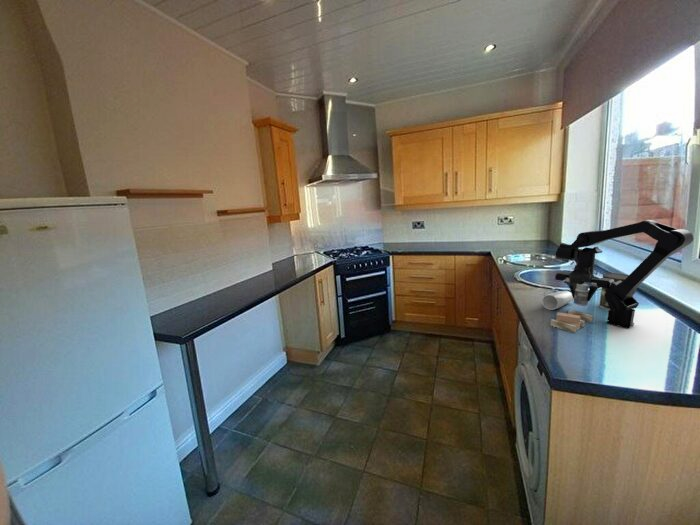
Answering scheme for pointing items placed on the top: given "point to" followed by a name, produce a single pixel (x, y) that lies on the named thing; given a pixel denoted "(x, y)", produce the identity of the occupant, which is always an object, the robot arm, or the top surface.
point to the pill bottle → (581, 294)
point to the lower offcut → (576, 325)
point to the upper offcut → (568, 318)
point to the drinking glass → (557, 299)
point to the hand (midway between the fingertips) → (581, 299)
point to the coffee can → (603, 301)
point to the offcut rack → (569, 326)
